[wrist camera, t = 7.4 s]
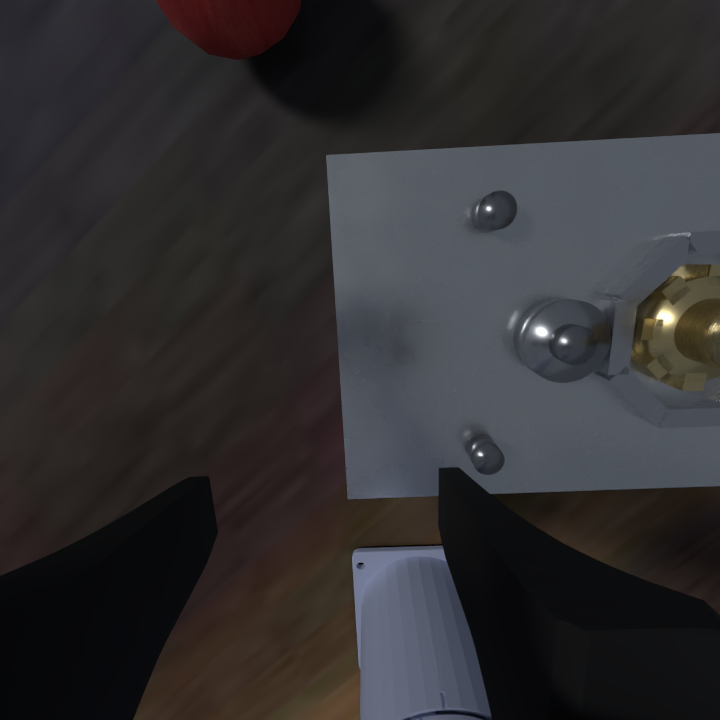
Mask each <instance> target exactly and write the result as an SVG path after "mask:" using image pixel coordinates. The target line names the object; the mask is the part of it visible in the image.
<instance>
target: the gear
mask: <svg viewBox="0 0 720 720" xmlns="http://www.w3.org/2000/svg"><path fill="white" fill-rule="evenodd" d="M633 344H634V347H635V350H636V352H635V353H634V354H633V355H631V360H630V363H631V364H632V365H633V366H634V368H635V369H636V370H637V371H638V372H639V373H642V374H644V375H647V376H649V377H652V378H654V379H657V380H659V379H660V378H661V383H664V384H666V385H669V386H671V387H674V388H676V389H679V390H681V391H703V388H704V384H705V380H709V379H713V378H716V377H720V265H714V264H686V267H685V272H684V276H670V277H668V278H667V279H666V280H665V281H664V282H663V283H662V284H661V285H660V286H659V287H658V288H656V289H655V290H654V291H653V292H652V293H651V294H650V295H649V296H648V297H647V298H646V299H645V300H644V302H643V303H642V305H641V306H640V308H639V310H638V312H637V314H636V321H635V329H634V337H633Z"/></svg>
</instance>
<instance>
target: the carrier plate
mask: <svg viewBox="0 0 720 720" xmlns="http://www.w3.org/2000/svg"><path fill="white" fill-rule="evenodd" d="M326 159H327V175H328V190H329V206H330V222H331V238H332V254H333V270H334V286H335V302H336V318H337V334H338V350H339V365H340V381H341V397H342V413H343V429H344V445H345V461H346V477H347V493H348V499H363V498H392V497H420V496H439V468H448V467H459V468H460V469H461V470H463V471H464V472H465V473H466V474H467V475H468V476H470V477H471V478H472V479H473V480H474V481H475V482H476V483H478V484H479V485H480V486H481V487H482V488H483V489H485V490H486V491H487V492H488V493H490V494H505V493H534V492H562V491H591V490H619V489H647V488H676V487H704V486H720V377H716V378H713V379H709V380H705V384H704V388H703V391H681V390H679V389H676V388H674V387H671V386H669V385H666V384H664V383H661V378H660V379H659V380H657V379H654V378H652V377H649V376H647V375H644V374H642V373H639V372H638V371H637V370H636V369H635V368H634V366H633V365H632V364H631V363H630V360H631V355H633V354H634V353H635V352H636V350H635V347H634V344H633V337H634V329H635V321H636V314H637V312H638V310H639V308H640V306H641V305H642V303H643V302H644V300H645V299H646V298H647V297H648V296H649V295H650V294H651V293H652V292H653V291H654V290H655V289H656V288H658V287H659V286H660V285H661V284H662V283H663V282H664V281H665V280H666V279H667V278H668V277H670V276H684V272H685V267H686V264H714V265H720V133H716V134H698V135H681V136H663V137H645V138H627V139H609V140H591V141H573V142H555V143H537V144H519V145H501V146H483V147H465V148H447V149H429V150H411V151H393V152H375V153H357V154H339V155H326Z"/></svg>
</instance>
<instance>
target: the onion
mask: <svg viewBox="0 0 720 720" xmlns="http://www.w3.org/2000/svg"><path fill="white" fill-rule="evenodd" d="M156 1H157V2H158V4H159V6H160V7H161V9H162V10H163V12H164V13H165V15H166V17H167V18H168V20H169V21H170V23H171V24H172V26H173V27H174V28H175V29H177V30H178V31H179V32H180V33H182V34H183V35H184V36H185V37H187V38H188V39H189V40H191V41H192V42H193V43H195V44H196V45H197V46H198V47H200V48H201V49H202V50H204V51H205V52H206V53H208V54H210V55H215V56H220V57H225V58H230V59H235V60H240V59H244V58H248V57H252V56H256V55H260V54H262V53H263V52H265V51H266V50H268V49H269V48H270V47H272V46H273V45H274V44H276V43H277V42H279V41H280V40H281V39H283V38H284V37H285V35H286V33H287V32H288V30H289V28H290V27H291V25H292V24H293V22H294V20H295V19H296V17H297V15H298V14H299V12H300V7H301V1H302V0H156Z"/></svg>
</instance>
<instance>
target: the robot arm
mask: <svg viewBox="0 0 720 720" xmlns="http://www.w3.org/2000/svg"><path fill="white" fill-rule="evenodd" d="M438 525H439V530H440V535H441V540H442V545H443V546H414V547H383V548H359V549H356V550H354V552H353V555H352V563H353V579H354V595H355V611H356V627H357V643H358V659H359V667H360V669H361V695H360V720H720V615H719V614H718V613H717V612H716V611H715V610H714V609H713V608H711V607H710V606H709V605H708V604H707V603H706V602H705V601H704V600H701V599H698V598H695V597H692V596H689V595H686V594H683V593H680V592H677V591H674V590H672V589H669V588H666V587H663V586H660V585H657V584H654V583H651V582H648V581H646V580H643V579H640V578H638V577H635V576H633V575H631V574H628V573H626V572H623V571H621V570H618V569H616V568H613V567H611V566H609V565H607V564H604V563H602V562H600V561H598V560H596V559H593V558H591V557H589V556H587V555H585V554H583V553H581V552H579V551H577V550H575V549H573V548H571V547H569V546H568V545H566V544H564V543H562V542H560V541H558V540H557V539H555V538H553V537H552V536H550V535H548V534H546V533H545V532H543V531H541V530H540V529H538V528H536V527H535V526H533V525H532V524H530V523H529V522H527V521H526V520H524V519H523V518H521V517H520V516H519V515H517V514H516V513H514V512H513V511H512V510H510V509H509V508H507V507H506V506H505V505H503V504H502V503H501V502H500V501H498V500H497V499H496V498H494V497H493V496H492V495H491V494H490V493H488V492H487V491H486V490H485V489H483V488H482V487H481V486H480V485H479V484H478V483H476V482H475V481H474V480H473V479H472V478H471V477H470V476H468V475H467V474H466V473H465V472H464V471H463V470H461V469H460V468H459V467H448V468H439V509H438ZM217 534H218V530H217V524H216V517H215V511H214V505H213V499H212V493H211V486H210V480H209V476H204V477H189V478H187V479H185V480H183V481H181V482H179V483H177V484H175V485H174V486H172V487H170V488H169V489H167V490H165V491H164V492H162V493H160V494H159V495H157V496H156V497H154V498H152V499H151V500H149V501H147V502H146V503H144V504H142V505H141V506H139V507H138V508H136V509H134V510H133V511H131V512H129V513H128V514H126V515H124V516H122V517H121V518H119V519H117V520H115V521H114V522H112V523H110V524H108V525H107V526H105V527H103V528H101V529H100V530H98V531H96V532H94V533H92V534H91V535H89V536H87V537H85V538H83V539H81V540H79V541H77V542H75V543H73V544H71V545H69V546H67V547H65V548H63V549H61V550H59V551H57V552H55V553H52V554H50V555H48V556H46V557H44V558H41V559H39V560H37V561H34V562H32V563H30V564H27V565H25V566H23V567H20V568H18V569H15V570H13V571H11V572H8V573H6V574H4V575H1V576H0V720H133V718H134V716H135V713H136V711H137V708H138V706H139V703H140V700H141V698H142V695H143V693H144V691H145V688H146V686H147V683H148V681H149V679H150V676H151V674H152V671H153V669H154V667H155V664H156V662H157V659H158V657H159V655H160V653H161V651H162V649H163V647H164V645H165V642H166V640H167V638H168V636H169V634H170V633H171V631H172V629H173V627H174V625H175V623H176V621H177V619H178V617H179V616H180V614H181V612H182V610H183V608H184V606H185V604H186V602H187V600H188V599H189V597H190V595H191V593H192V591H193V589H194V587H195V585H196V583H197V581H198V579H199V577H200V576H201V574H202V572H203V570H204V568H205V566H206V564H207V561H208V559H209V556H210V553H211V551H212V548H213V545H214V542H215V539H216V537H217ZM360 562H361V563H364V564H362V565H359V564H358V563H360Z"/></svg>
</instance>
